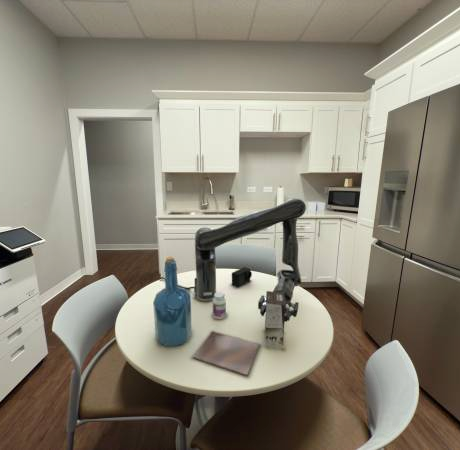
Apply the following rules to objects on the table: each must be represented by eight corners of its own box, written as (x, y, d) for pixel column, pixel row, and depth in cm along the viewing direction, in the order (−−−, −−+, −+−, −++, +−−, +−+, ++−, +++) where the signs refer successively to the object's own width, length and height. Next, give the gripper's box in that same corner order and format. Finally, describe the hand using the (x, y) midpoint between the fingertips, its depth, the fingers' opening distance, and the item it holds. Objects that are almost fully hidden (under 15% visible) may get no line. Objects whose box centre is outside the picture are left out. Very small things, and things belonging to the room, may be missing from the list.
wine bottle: (153, 328, 95) (148, 254, 88) (187, 321, 99) (184, 249, 93) (158, 352, 82) (152, 267, 76) (197, 342, 87) (194, 262, 80)
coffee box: (283, 348, 83) (286, 305, 79) (264, 346, 84) (265, 303, 81) (282, 331, 92) (284, 291, 88) (264, 329, 93) (266, 290, 89)
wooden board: (193, 358, 80) (193, 356, 80) (212, 332, 92) (212, 331, 92) (247, 376, 73) (247, 374, 73) (259, 345, 85) (259, 344, 85)
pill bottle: (212, 312, 105) (212, 291, 103) (225, 311, 106) (224, 290, 104) (213, 319, 100) (212, 298, 98) (226, 319, 101) (226, 297, 98)
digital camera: (239, 288, 126) (239, 275, 125) (231, 285, 130) (231, 272, 129) (251, 281, 134) (252, 269, 132) (244, 278, 137) (244, 266, 136)
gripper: (265, 282, 101) (253, 302, 86) (302, 289, 95) (296, 311, 80) (264, 299, 102) (253, 321, 88) (300, 306, 97) (295, 331, 82)
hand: (273, 316), depth 84 cm, fingers closed on coffee box, 7 cm apart
